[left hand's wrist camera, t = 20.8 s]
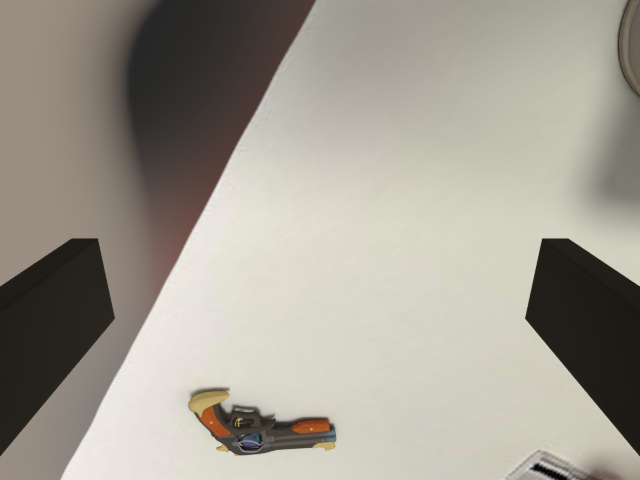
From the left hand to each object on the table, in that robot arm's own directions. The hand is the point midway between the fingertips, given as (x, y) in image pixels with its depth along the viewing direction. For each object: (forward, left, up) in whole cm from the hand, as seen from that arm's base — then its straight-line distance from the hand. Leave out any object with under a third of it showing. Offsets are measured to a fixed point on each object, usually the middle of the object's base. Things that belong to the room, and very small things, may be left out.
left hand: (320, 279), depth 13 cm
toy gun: (+36, +13, -33) cm, 50 cm away
